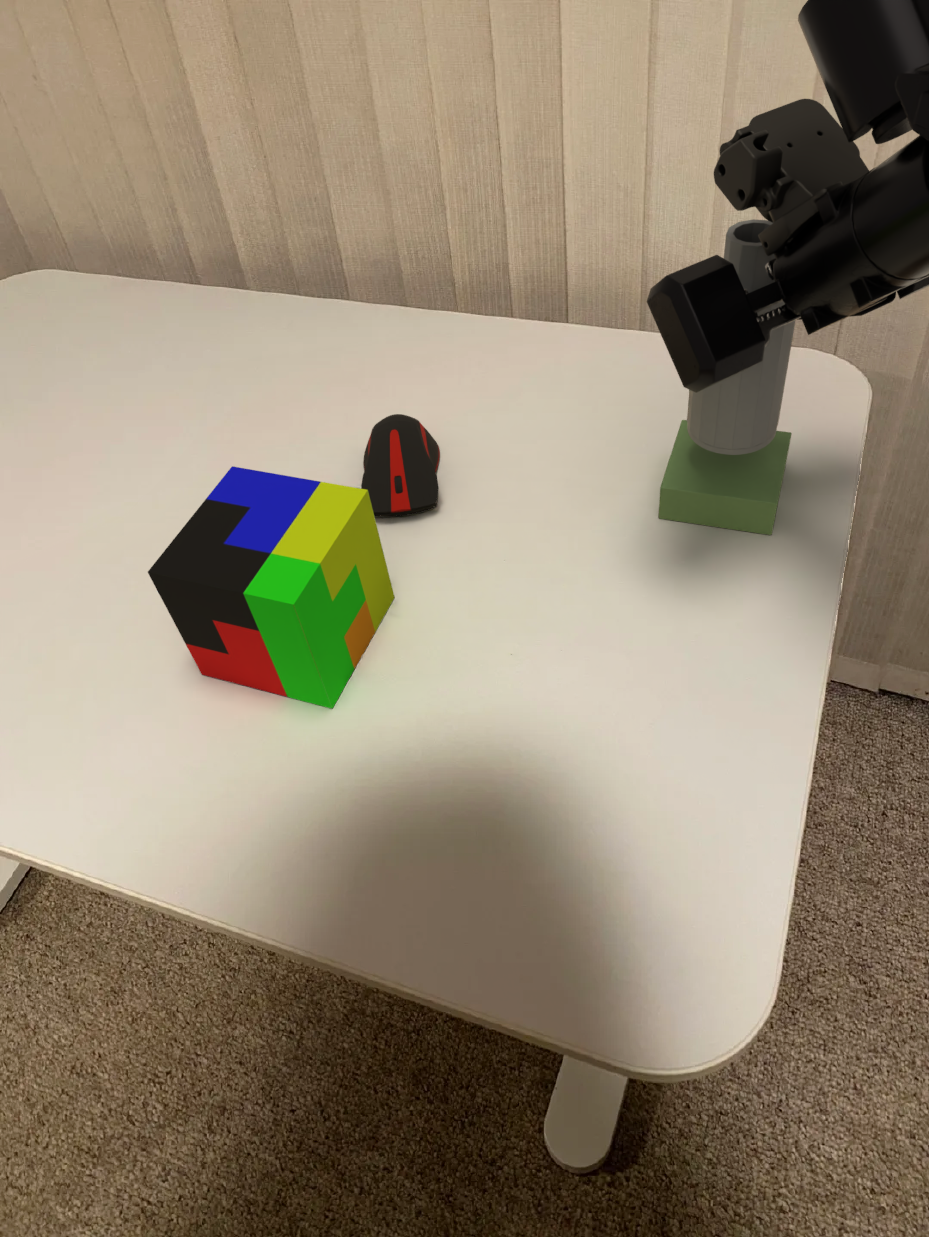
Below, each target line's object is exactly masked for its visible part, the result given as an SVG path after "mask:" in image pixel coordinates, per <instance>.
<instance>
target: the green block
mask: <svg viewBox="0 0 929 1237" xmlns="http://www.w3.org/2000/svg"><path fill="white" fill-rule="evenodd" d="M674 440H675V441H674V443H673V447H672V449H671V453H670V456H669V459H668V462H667V465H666V469H665V471H664V474H663V476H662V477H663V478H662V482H661V484H660V487H659V499H658V500H659V502H658V517H657V518H658V519H661V520H668V521H673V522H674V521H675V522H680V523H687V524H693V525H701V526H702V525H703V526H706V527H707V526H708V527H714V528H722V529H728V530H735V531H742V532H747V533H748V532H749V533H753V534H761V535H767V536H772V535H773V530H774V525H775V520H776V515H777V510H778V505H779V501H780V500H779V499H780V495H781V490H782V486H783V481H784V475H785V470H786V466H787V460H788V454H789V449H790V444H791V440H792V432H790V431H783V430H782V431H781V430H776V435H775V437H774V438H773V440H772V441H771V442H770V443H769V444H768V445H767V446H765V447H764V448H762V449H760V450H758V451H755V452H752V453H747V454H741V455H726V454H719V453H715V452H711V451H709V450H706V449H704V448H702V447H700V446H699V445H697V444H696V443H695V442H694V441H693V440H692V439H691V437H690V436H689V433H688V430H687V419H682V420H681V421H680V425H679V428H678V431H677V434H676V437H675V439H674Z"/></svg>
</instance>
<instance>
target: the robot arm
mask: <svg viewBox="0 0 929 1237" xmlns="http://www.w3.org/2000/svg"><path fill="white" fill-rule="evenodd" d="M797 22H798V24H799V26H800V29H801V32H802V34H803V36H804V39H805V41H806V44H807V46H808V48H809V51H810V53H811V55H812V58H813V60H814V63H815V65H816V68H817V70H818V73H819V76H820V77H821V80H822V82H823V85H824V87H825V90H826V93H827V95H828V97H829V100H830V102H831V105H832V107H833V109H834V112H835V115H836V116H837V119H838V121H837V120H836V119H835V118H834V117H833V115H832V114H831V113H830V111H828V109H827V108H826V107H825V106H824V105H823V103H821V102H819V101H817V100H815V99H811V98H800V99H797V100H795V101H792V102H789V103H786V104H784V105H781V106H778V107H776V108H773V109H770V110H767V111H765V112H763V113H760V114H757V115H754V117H752V118H751V119H750V121H749V123H748V125H747V126H744V127H741V128H738V129H736V130H735V132H734V135H733V137H732V138H731V139H730V140H729V141H726V142H724V143H722V144H721V145H720V147H719V157H718V159H717V162H716V164H715V166H714V169H713V180H714V181H713V182H714V183H715V186H717V188H718V189H719V190H720V191H721V193H722V194H723V196H724V197H725V198H726V200H727V201H728V202H729V203H730V205H731V206H732V207H733V208H734V209H735V211H739V212H741V211H746V210H748V209H750V208H756V210H757V211H758V212H759V213H760V215H761V216H762V217H763V218H764V220H767V221H770V222H772V223H773V224H771V225H770V226H769V227H768V228H766V229H765V230H764V231H762V232H761V233H760V234H758V237H759V239H760V241H761V244H762V246H763V248H764V251H765V253H766V255H767V256H770V255H773V254H774V255H775V259H773V260H770V261H769V262H767V263H766V265H765V269H766V271H767V273H768V276H769V277H770V278H771V280H775V282H773V283H771V284H769V285H767V286H764V287H762V288H760V289H757V290H755V291H753V292H750V293H748V291H747V289H744V288H743V286H742V284H741V281H740V279H739V277H738V274H737V272H736V270H735V267H734V265H733V263H731V262H729V261H728V260H726V259H724V257H722V256H721V255H719V254H715V255H712V256H710V257H708V258H705V259H702V260H700V261H697V262H696V263H693V264H691V265H689V266H686V267H683V268H680V269H679V270H677V271H673V272H671V273H669V274H666V275H665V276H664V277H663V278H661V279H660V280H659V281H658V282H656V283H655V284H654V285H653V286H652V287H651V288H650V289H649V293H648V296H647V299H646V301H645V302H646V304H647V306H648V308H649V310H650V313H651V316H652V318H653V320H654V322H655V324H656V327H657V329H658V332H659V334H660V336H661V339H662V340H663V343H664V345H665V348H666V350H667V352H668V354H669V357H670V359H671V361H672V363H673V366H674V368H675V370H676V372H677V375H678V378H679V380H680V382H681V384H682V387H683V388H685V389H687V390H688V391H689V390H691V391H693V392H695V393H697V392H699V391H701V390H703V389H706V388H708V387H710V386H712V385H714V384H716V383H719V382H721V381H723V380H725V379H727V378H730V377H732V376H734V375H736V374H738V373H740V372H742V371H744V370H746V369H748V368H750V367H752V366H754V365H756V364H758V363H760V362H762V361H763V354H764V347H766V346H767V345H768V344H769V342H770V334H771V331H772V330H774V329H777V328H779V327H781V326H783V325H785V324H788V323H790V322H792V321H794V320H796V321H801V322H802V324H803V326H804V329H805V331H806V333H807V336H810V335H813V334H814V333H816V332H819V331H821V330H823V329H825V328H827V327H830V326H831V325H834V324H837V323H838V322H841V321H843V320H845V319H847V318H849V317H862V316H864V315H867V314H868V313H870V312H874V311H875V310H877V309H879V308H882V307H884V306H887V305H888V304H890V303H893V302H894V300H895V299H896V297H897V296H898V298H899V300H902V299H904V298H906V297H908V296H911V295H913V294H915V293H917V292H919V291H921V290H924V289H926V288H928V287H929V0H807V1H806V2H805V3H804V4H803V6H802V8H800V11H799V13H798V15H797ZM838 122H839V123H838ZM910 131H913V132H915V133H916V134H917V137H915V138H914V139H913V140H911V141H910V142H908V143H907V144H905V145H904V146H903V147H901V148H900V149H899V150H897V151H896V152H895V153H893V154H892V155H890V156H889V157H887V158H886V159H885V160H884V161H881V163H879V164H878V165H877V166H875V167H873V168H872V169H869V168H868V166H867V165H866V163H865V162H864V160H863V159H862V157H861V151H860V149H859V147H858V145H857V144H856V142H854V141H856V140H858V139H860V138H862V137H863V136H865V135H867V134H868V133H869V132H871V134H870V135H871V136H872V139H873V141H874V143H875V145H883V144H885V143H889V142H890V141H893V140H895V139H897V138H899V137H901V136H903V135H905V134H907V133H909V132H910ZM782 301H783V302H784V303H785V304H784V305H783V306H781V307H778V308H776V309H773V310H771V311H770V313H769V312H766V313H765V314H764V315H763V314H762V315H760V316H758V314H757V312H759V311H761V310H764V309H766V308H768V307H770V306H773V305H775V304H777V303H780V302H782ZM758 321H759V322H758Z"/></svg>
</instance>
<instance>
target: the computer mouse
mask: <svg viewBox="0 0 929 1237" xmlns="http://www.w3.org/2000/svg"><path fill="white" fill-rule="evenodd" d="M437 442H438V441H436V440H435V438H434V437H433V436H432V434H431V433H430V432H429V431H428V429H426V427H425V426H424V425H423V424H422V423H421V421H420V420H418V419H417V418H415V417H412V416H409V415H406V414H400V413H395V414H390V415H388V416H386V417H384V418H382V419H381V420H379V421H378V422H376V423H375V424H374V425H373V427H372V429H371V432H370V435H369V437H368V440H367V443H366V445H365V450H364V455H363V461H362V462H363V471H364V472H363V474H362V479H361V484H360V489H366V490H368V493H369V497H370V501H371V505H372V509H373V513H374V517H377V518H379V517H380V518H398V517H406V516H412V515H416V514H420V513H424V512H427V511H431V510H433V509H435V508H436V507H437V505H438V504H437V502H438V500H439V488H440V487H439V480H438V476H437V471H438V468H439V464H440V458H441V452H440V446H439V444H438V443H437Z"/></svg>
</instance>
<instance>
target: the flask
mask: <svg viewBox="0 0 929 1237" xmlns="http://www.w3.org/2000/svg"><path fill="white" fill-rule="evenodd" d="M771 224H773V223H772V222H770V221H768V220H767V219H755V218H754V219H747V220H742V221H738V222H736V223H734V224H732V225H731V226H729V227H728V228H727V231H726V234H725V242H724V251H723V258H724V259H726V260H728V261H729V262H731V263H733V265H734V267H735V270H736V272H737V274H738V277H739V279H740V281H741V284H742V286H743V288H744V289H747V291H748V293H750V292H753V291H755V290H757V289H760V288H762V287H764V286H767V285H769V284H771V283H773V282H775V280H771V278H770V277H769V276H768V273H767V271H766V269H765V265H766V263H767V262H769V261H770V260H773V259H775V255H774V254H773V255H770V256H767V255H766V253H765V251H764V248H763V246H762V244H761V241H760V239H759V237H758V234H760V233H761V232H762V231H764V230H765V229H766V228H768V227H769V226H770V225H771ZM784 304H785V303H784V302H783V301H782V302H780V303H777V304H775V305H773V306H770V307H768V308H766V309H764V310H761V311H759V312H757V314H758V316H760V315H762V314H763V315H764V314H765V313H766V312H769V313H770V311H771V310H773V309H776V308H778V307H781V306H783V305H784ZM796 321H797V320H794V321H792V322H790V323H788V324H785V325H783V326H781V327H779V328H777V329H774V330H772V331H771V334H770V342H769V344H768V345H767V346H766V347H764V354H763V361H762V362H760V363H758V364H756V365H754V366H752V367H750V368H748V369H746V370H744V371H742V372H740V373H738V374H736V375H734V376H732V377H730V378H727V379H725V380H723V381H721V382H719V383H716V384H714V385H712V386H710V387H708V388H706V389H703V390H701V391H699V392H697V393H695V392H693V391H691V390H689V389H688V399H687V400H688V401H687V402H688V403H687V413H686V414H687V415H686V420H687V430H688V433H689V436H690V437H691V439H692V440H693V441H694V442H695V443H696V444H697V445H699V446H700V447H702V448H704V449H706V450H709V451H711V452H715V453H719V454H726V455H741V454H747V453H752V452H755V451H758V450H760V449H762V448H764V447H765V446H767V445H768V444H769V443H770V442H771V441H772V440H773V438H774V437H775V435H776V431H778V426H779V421H780V415H781V409H782V405H783V404H782V403H783V399H784V398H783V397H784V392H785V385H786V380H787V375H788V369H789V368H788V367H789V363H790V362H789V361H790V355H791V350H792V345H793V344H792V343H793V338H794V332H795V326H796ZM758 322H759V321H758Z"/></svg>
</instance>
